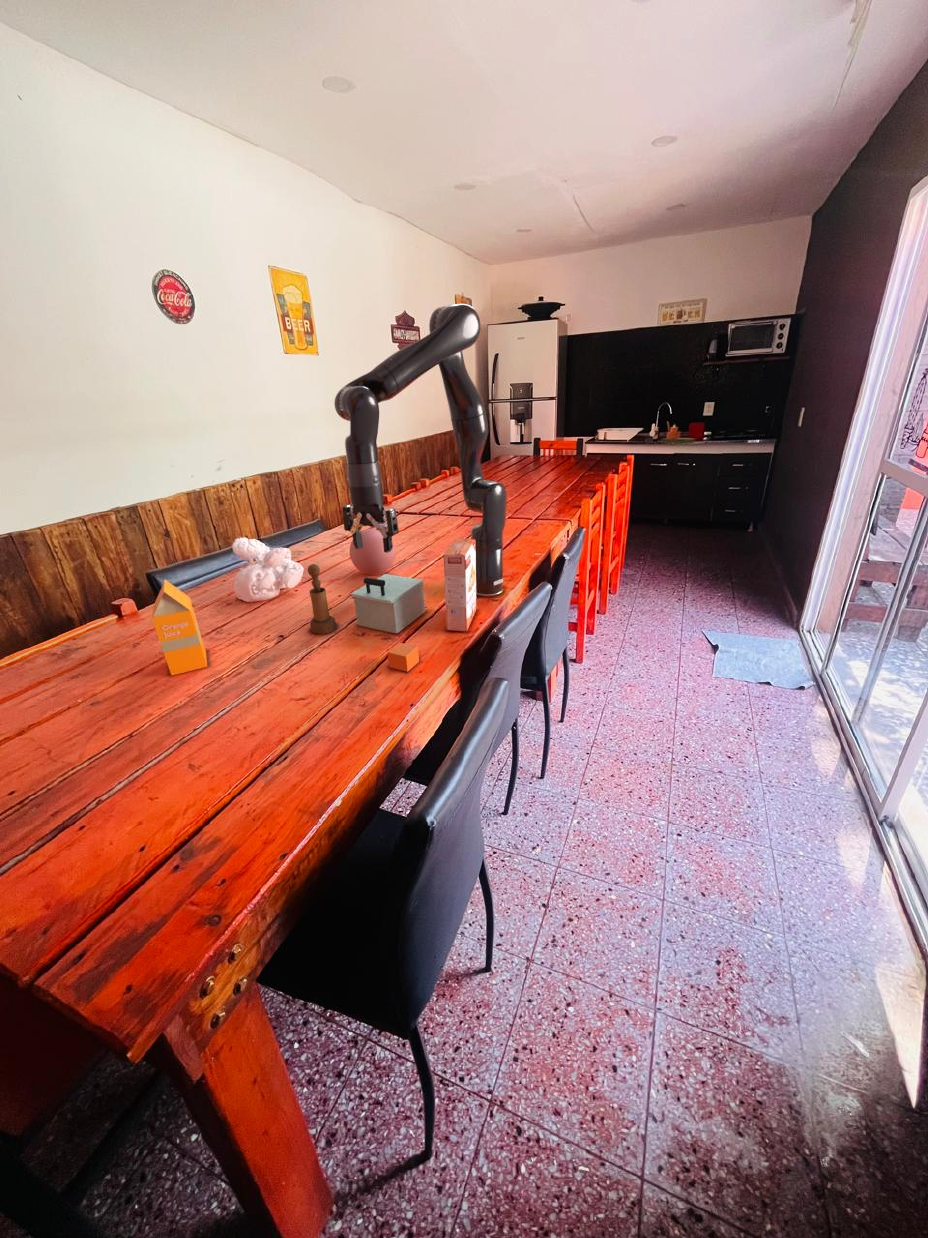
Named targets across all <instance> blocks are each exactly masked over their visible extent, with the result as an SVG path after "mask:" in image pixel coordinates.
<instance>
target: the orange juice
mask: <svg viewBox="0 0 928 1238" xmlns="http://www.w3.org/2000/svg"><path fill="white" fill-rule="evenodd" d="M152 605H153V606H152V614H151V620H152V623H153V626H154V629H155V632H156V635H157V638H158V641H159V644H160V647H161V650H162V653H163V655H164V658H165V661H166V664H167V667H168V669H169V673H170V676H174V675H180V674H183V673H188V672H191V671H192V672H193V671H196V670H200V669H205V668H207V667H208V660H207V651H206V647H205V644H204V641H203V637H202V635H201V631H200V627H199V624H198V619H197V617H196V614H195V609H194V607H193V604H192V601H191V597H190V596H189V595H187V594H186V593H184V592H183V591H182V590H180V589H179V588H177V587H176V586H175V585H173V584H172V583H171V582H169V581H168V580H167V579H164V582H163V584H162V586H161V589H160V590H159V593H158V595H157V597H156V599H155V602H154V603H153V604H152Z"/></svg>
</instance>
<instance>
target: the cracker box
mask: <svg viewBox="0 0 928 1238" xmlns="http://www.w3.org/2000/svg"><path fill="white" fill-rule="evenodd" d="M443 571H444V572H443V574H444V575H443V576H444V577H443V578H444V593H445V594H444V600H445V626H446V631H452V632H453V631H454V632H467V633H468V630H469V628H470V626H471V623H472V620H473V618H474V616H475V613H476V611H477V595H476V540H474V539H471V538H455V539H454V540H453V541H452V543H451V544H450V545H449V547H448V548H447V550H446V551H445V552H444V553H443Z"/></svg>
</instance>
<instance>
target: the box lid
mask: <svg viewBox="0 0 928 1238" xmlns="http://www.w3.org/2000/svg"><path fill="white" fill-rule="evenodd" d="M422 583H423V584H424V579H421V578H420V579H419V578H413V577H408V576H400V575H394V574H388V573H383V574H382V575H381V576H379V577H377V578H373V577H367V576H365V577H364V578H363V584H364V586H361V587H360V588H358V589H356V590H354V591H353V592H351V593H350V596H351V597H352V598H354V597H358V598H363V599H368V600H374V601H379V602H384V603H389V604H392V603H394V602H395V601H396V600H398V599H399V598H401V597H402V596H404V595H405V594H407V593H408V592H410V591H411V590H413V589H414V588H416V587H417V586H419V585H420V584H422Z"/></svg>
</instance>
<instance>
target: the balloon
mask: <svg viewBox="0 0 928 1238" xmlns="http://www.w3.org/2000/svg"><path fill="white" fill-rule="evenodd" d="M360 532H361V534H362V542H363V547H362V548H360V549H356V548H355V546H354V543H353V539H352V540H351V542H350V545H349V557H350V560H351V563H352V564H353V566H354V567H355V568H356V569H357V570H358V571H360V572H361V573H363V574H365V575H368V576H369V575H370V576H378V575H381V574H382V575H383V574H385V573H386V572H387V571H389V570H390V569H391V568H392V566H393V565H394V564H395V561H396V558H397V547H396V544H395V542H394V539H392V544H393V548H392V550H391V551H390V552H388V553H385V552H384V546H383V538H384V537H383V536H382V534H381V533H380V531H378V530H377V529H376V528H366V529H364V530H360Z"/></svg>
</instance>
